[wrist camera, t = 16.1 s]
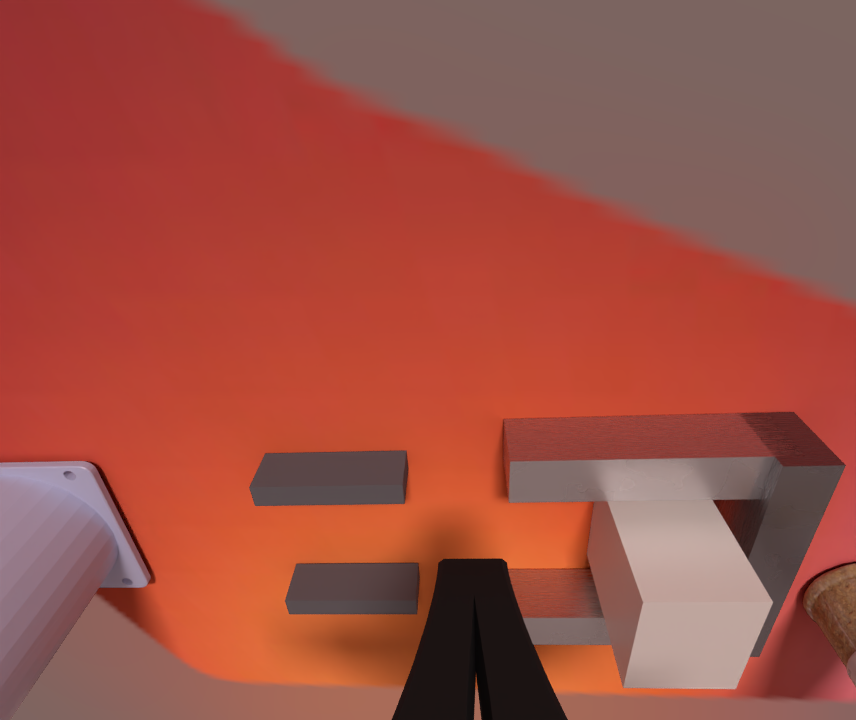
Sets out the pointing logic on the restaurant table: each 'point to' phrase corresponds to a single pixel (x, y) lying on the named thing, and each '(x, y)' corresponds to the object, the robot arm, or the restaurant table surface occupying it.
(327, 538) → the restaurant table surface
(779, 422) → the block
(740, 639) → the plug
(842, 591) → the sprinkles bottle
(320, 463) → the pair of grey blocks
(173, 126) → the restaurant table surface
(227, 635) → the restaurant table surface
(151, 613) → the restaurant table surface
